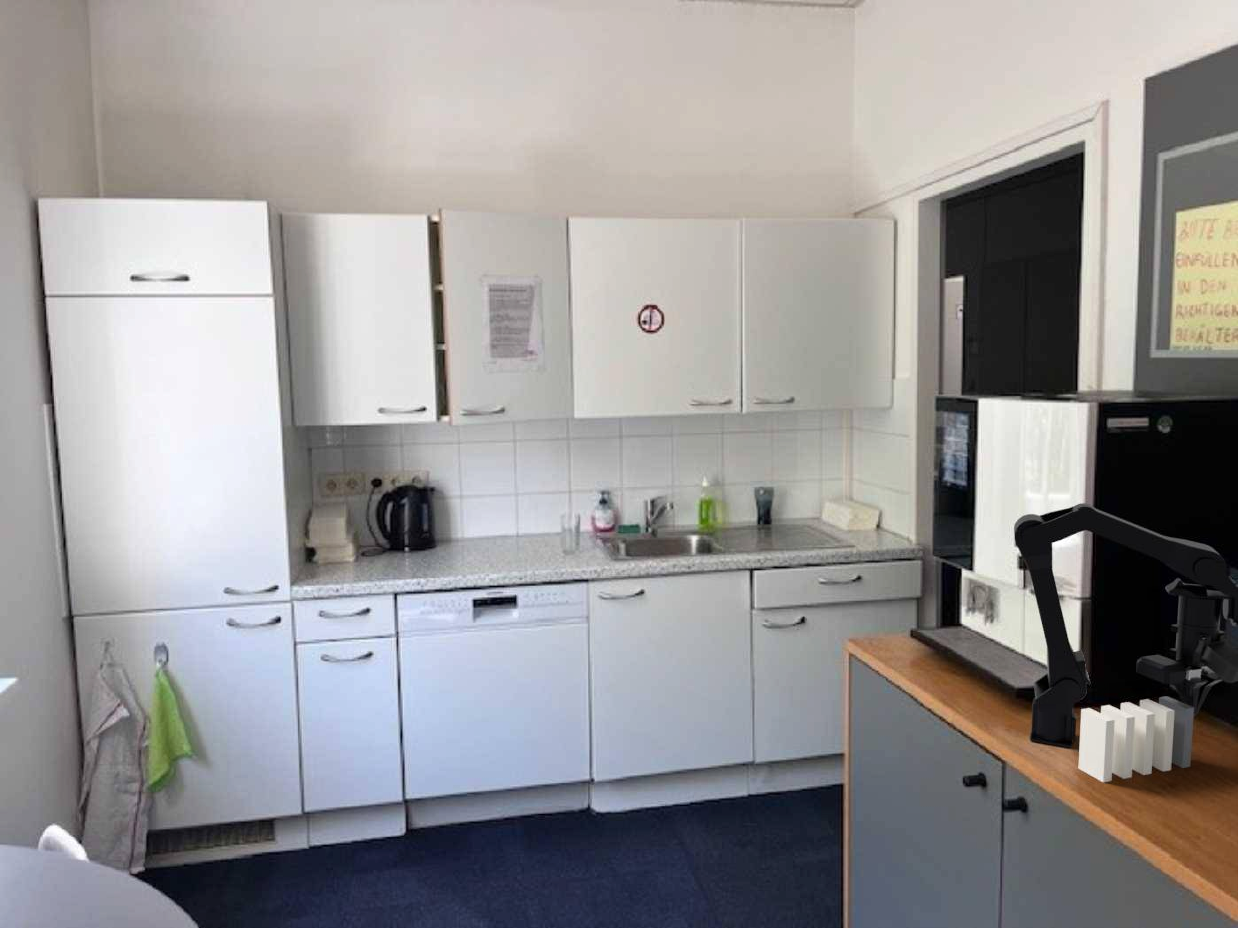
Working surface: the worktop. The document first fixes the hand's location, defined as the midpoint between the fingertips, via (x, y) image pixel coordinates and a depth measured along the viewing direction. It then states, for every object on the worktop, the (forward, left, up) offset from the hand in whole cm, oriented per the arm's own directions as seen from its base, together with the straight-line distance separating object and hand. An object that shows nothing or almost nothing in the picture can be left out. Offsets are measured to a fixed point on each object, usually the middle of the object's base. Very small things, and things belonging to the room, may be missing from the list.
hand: (1192, 714), depth 145 cm
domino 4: (-5, -5, -7) cm, 11 cm away
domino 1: (-14, -14, -7) cm, 21 cm away
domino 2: (-11, -11, -7) cm, 17 cm away
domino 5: (-2, -2, -7) cm, 8 cm away
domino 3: (-8, -8, -7) cm, 14 cm away
